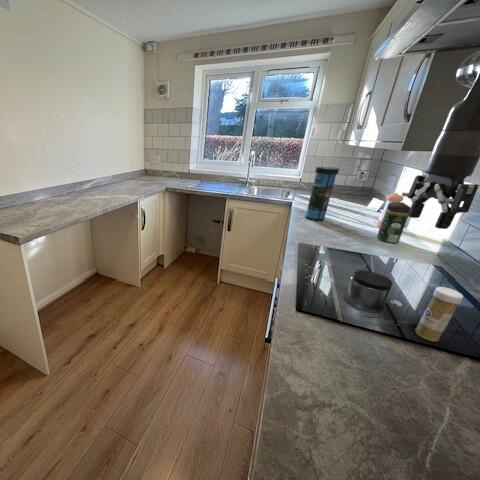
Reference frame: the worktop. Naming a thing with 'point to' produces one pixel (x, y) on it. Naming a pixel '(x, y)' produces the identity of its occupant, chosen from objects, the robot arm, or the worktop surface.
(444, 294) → the sprinkles bottle
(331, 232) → the worktop surface
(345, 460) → the worktop surface
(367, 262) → the worktop surface
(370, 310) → the squat metal tin
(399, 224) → the coffee jar
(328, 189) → the advertising column
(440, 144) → the robot arm
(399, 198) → the pepper shaker
